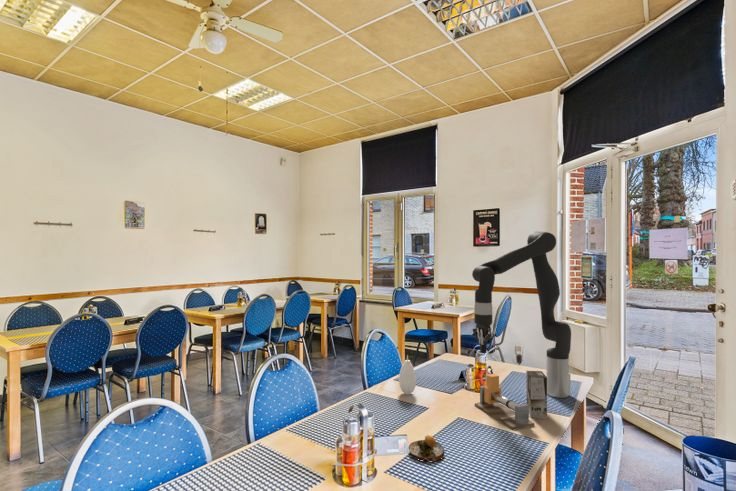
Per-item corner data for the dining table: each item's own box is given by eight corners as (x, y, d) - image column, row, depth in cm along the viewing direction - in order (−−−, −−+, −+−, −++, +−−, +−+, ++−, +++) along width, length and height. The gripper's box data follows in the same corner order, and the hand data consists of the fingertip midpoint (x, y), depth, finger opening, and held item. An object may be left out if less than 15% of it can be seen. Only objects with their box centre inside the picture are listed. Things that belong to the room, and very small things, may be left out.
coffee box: (547, 418, 160) (547, 377, 160) (530, 417, 162) (530, 376, 162) (542, 409, 169) (542, 370, 169) (526, 408, 171) (526, 369, 171)
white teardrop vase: (416, 397, 183) (416, 357, 183) (399, 397, 183) (399, 357, 183) (415, 391, 191) (415, 352, 191) (398, 390, 191) (398, 352, 191)
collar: (484, 401, 170) (484, 375, 170) (496, 399, 173) (496, 373, 173) (488, 404, 168) (488, 377, 168) (500, 402, 170) (501, 375, 170)
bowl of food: (420, 441, 143) (420, 420, 143) (451, 452, 135) (451, 430, 135) (401, 455, 133) (401, 432, 133) (432, 467, 126) (432, 443, 126)
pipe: (479, 402, 174) (479, 386, 174) (489, 401, 176) (489, 384, 176) (517, 425, 152) (517, 407, 152) (528, 423, 154) (528, 405, 154)
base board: (474, 405, 174) (474, 403, 174) (494, 402, 177) (494, 400, 177) (512, 429, 151) (512, 426, 151) (534, 425, 154) (534, 422, 154)
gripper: (500, 314, 171) (500, 355, 171) (481, 309, 184) (481, 348, 184) (485, 315, 169) (485, 357, 169) (467, 310, 181) (467, 349, 181)
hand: (483, 352), depth 176 cm, fingers closed
